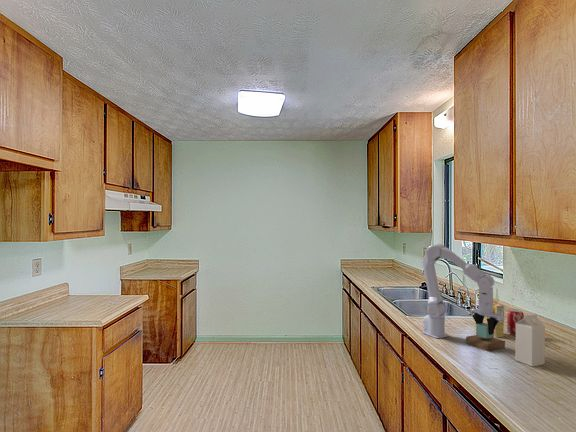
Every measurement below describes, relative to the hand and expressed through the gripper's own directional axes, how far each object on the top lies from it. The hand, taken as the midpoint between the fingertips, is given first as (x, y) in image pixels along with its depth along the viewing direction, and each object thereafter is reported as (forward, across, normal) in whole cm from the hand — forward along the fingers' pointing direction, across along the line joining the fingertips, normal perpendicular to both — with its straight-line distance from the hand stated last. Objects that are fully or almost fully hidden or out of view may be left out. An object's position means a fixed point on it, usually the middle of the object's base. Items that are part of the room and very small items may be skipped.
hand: (485, 332), depth 168 cm
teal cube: (+2, 0, 0) cm, 2 cm away
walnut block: (+6, 0, 0) cm, 6 cm away
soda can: (+6, -6, +29) cm, 30 cm away
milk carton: (+6, +20, -1) cm, 21 cm away
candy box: (+6, -10, +19) cm, 22 cm away
